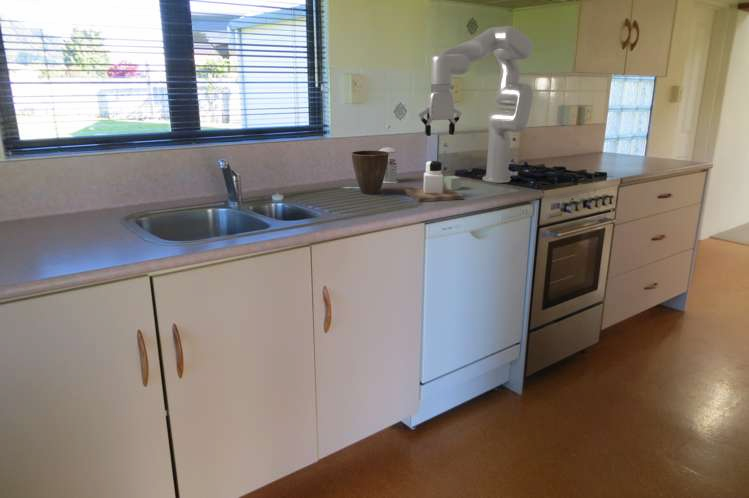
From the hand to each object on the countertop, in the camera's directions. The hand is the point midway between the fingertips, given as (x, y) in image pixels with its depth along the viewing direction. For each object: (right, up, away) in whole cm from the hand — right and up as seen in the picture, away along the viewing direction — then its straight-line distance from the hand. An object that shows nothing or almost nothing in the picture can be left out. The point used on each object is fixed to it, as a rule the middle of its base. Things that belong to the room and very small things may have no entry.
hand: (439, 135), depth 205 cm
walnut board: (-3, -24, +2) cm, 24 cm away
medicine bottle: (-3, -22, +2) cm, 22 cm away
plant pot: (-27, -22, +9) cm, 36 cm away
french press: (-20, -15, +29) cm, 38 cm away
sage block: (+7, -19, +15) cm, 26 cm away
